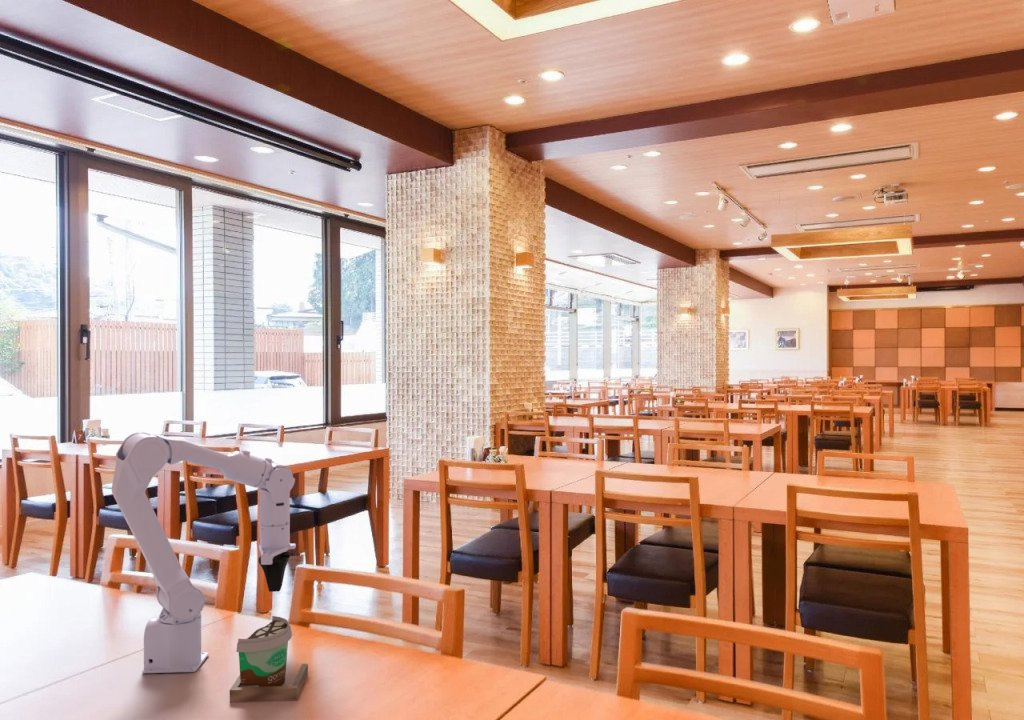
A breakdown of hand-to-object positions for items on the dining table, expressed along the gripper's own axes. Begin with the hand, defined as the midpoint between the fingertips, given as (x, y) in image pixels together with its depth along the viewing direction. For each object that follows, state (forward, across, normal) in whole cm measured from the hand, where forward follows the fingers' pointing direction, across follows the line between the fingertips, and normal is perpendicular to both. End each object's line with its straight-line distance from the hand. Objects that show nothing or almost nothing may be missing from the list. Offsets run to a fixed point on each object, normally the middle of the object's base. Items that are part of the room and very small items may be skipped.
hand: (274, 590), depth 153 cm
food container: (+11, -20, -4) cm, 23 cm away
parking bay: (+10, -21, -4) cm, 24 cm away
